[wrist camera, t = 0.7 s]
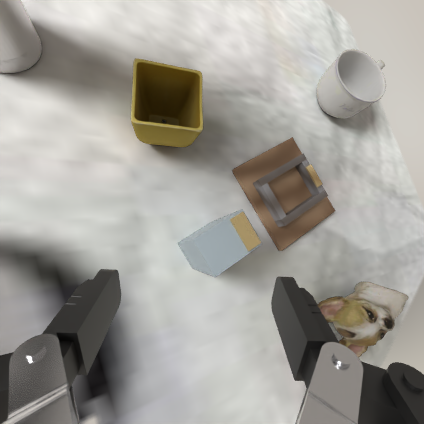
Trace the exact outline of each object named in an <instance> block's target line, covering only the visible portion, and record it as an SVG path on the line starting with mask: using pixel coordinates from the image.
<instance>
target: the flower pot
mask: <svg viewBox="0 0 424 424" xmlns="http://www.w3.org/2000/svg"><path fill="white" fill-rule="evenodd" d="M163 120H165V121H166V123H163V122H162V121H163ZM131 122H132V125H133V128H134V131H135V134H136V136H137V138H138V139H139V140H140V141H142V142H144V143H147V144H155V145H164V146H173V147H187V146H189V145H191V144H192V143H193V142H194V140H195V139H196V138H197V137H198V135H199V134H200V133H201V131H202V130H203V112H202V73H201V72H200V71H197V70H192V69H187V68H182V67H176V66H172V65H167V64H162V63H157V62H153V61H148V60H143V59H135V60H134V62H133V86H132V106H131Z"/></svg>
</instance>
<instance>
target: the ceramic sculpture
mask: <svg viewBox="0 0 424 424" xmlns="http://www.w3.org/2000/svg"><path fill="white" fill-rule="evenodd" d="M407 299H408V296H407V295H405V294H403V293H400V292H398V291H395V290H392V289H388V288H385V287H382V286H379V285H376V284H373V283H370V282H360V283H358V284H357V285H356V286H355V292H354V293H352V294H350V295H349V296H347V297H345V298H343V297H333V298H328V299H326V300H324V301H321V302H320V303H319V304H318V305H317V306H318V307H319V308H320V310H321V312H322V314H323V315H324V317H325V319H326V321H327V322H333V324H334V327H335V329H336V330H337V331H338V332H339V334H340V335H342V336H343V337H344V338H343V339H341V340H340V341H339V343H340V344H342V345H344V346H346V347H347V348H349V349H350V350H351V351H353V352H354V353H355V354H356V355H357V357H360V356H361V355H362V353H364V352H366V351H367V348H368V346H371V345H375V344H376V343H377V341H378V340H381V339H382V338H383V337H384V335H385V333H386V332H387V331H391V330H392V329H393V328H394V319H395V318H396V317H397V316H398V315H399V314H400V313H401V312H402V310H403V307H404V305H405V302H406V300H407Z"/></svg>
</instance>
